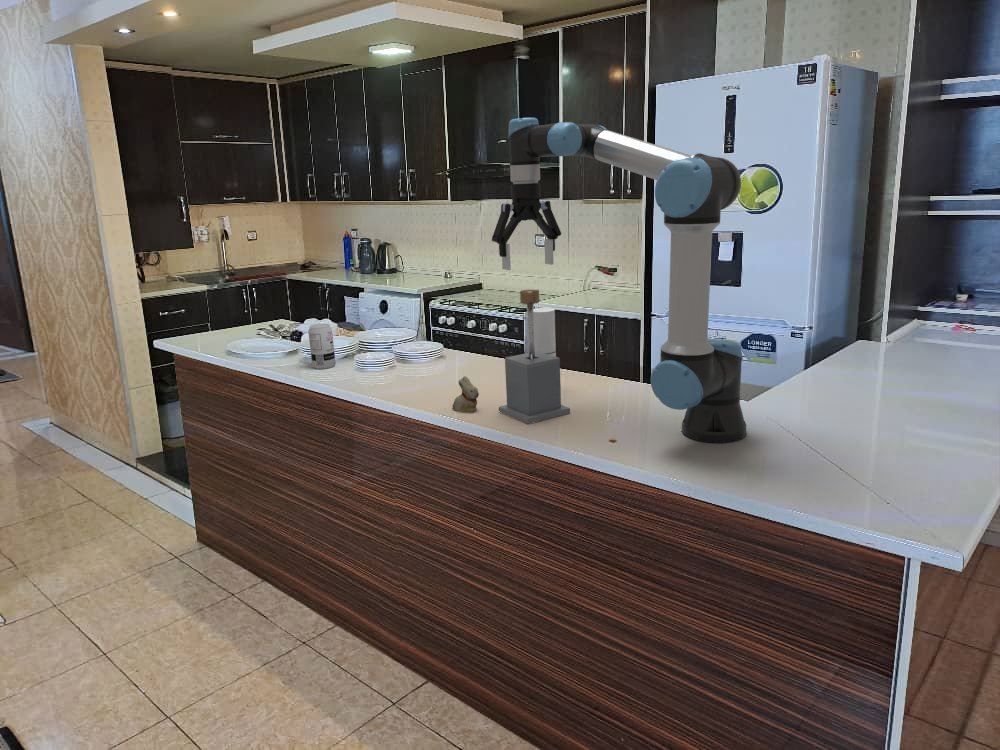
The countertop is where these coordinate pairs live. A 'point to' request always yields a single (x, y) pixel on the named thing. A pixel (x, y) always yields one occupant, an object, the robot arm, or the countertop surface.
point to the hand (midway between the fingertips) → (528, 266)
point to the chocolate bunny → (466, 397)
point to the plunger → (530, 316)
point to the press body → (533, 388)
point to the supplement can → (321, 346)
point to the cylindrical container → (544, 330)
